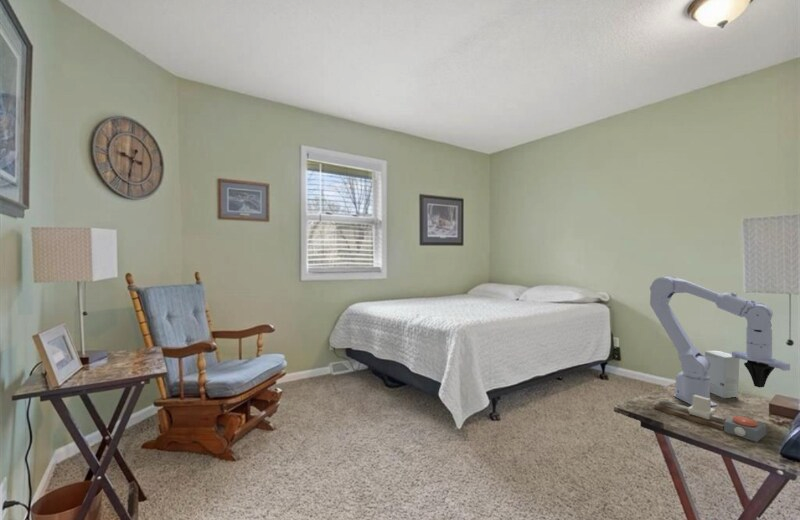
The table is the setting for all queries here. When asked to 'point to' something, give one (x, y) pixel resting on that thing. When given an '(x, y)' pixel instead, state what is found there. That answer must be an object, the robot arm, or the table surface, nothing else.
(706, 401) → the carriage
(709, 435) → the table surface
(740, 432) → the grey square base
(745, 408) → the table surface
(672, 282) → the robot arm
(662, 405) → the rail board
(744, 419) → the button
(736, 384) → the skincare box
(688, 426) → the table surface
